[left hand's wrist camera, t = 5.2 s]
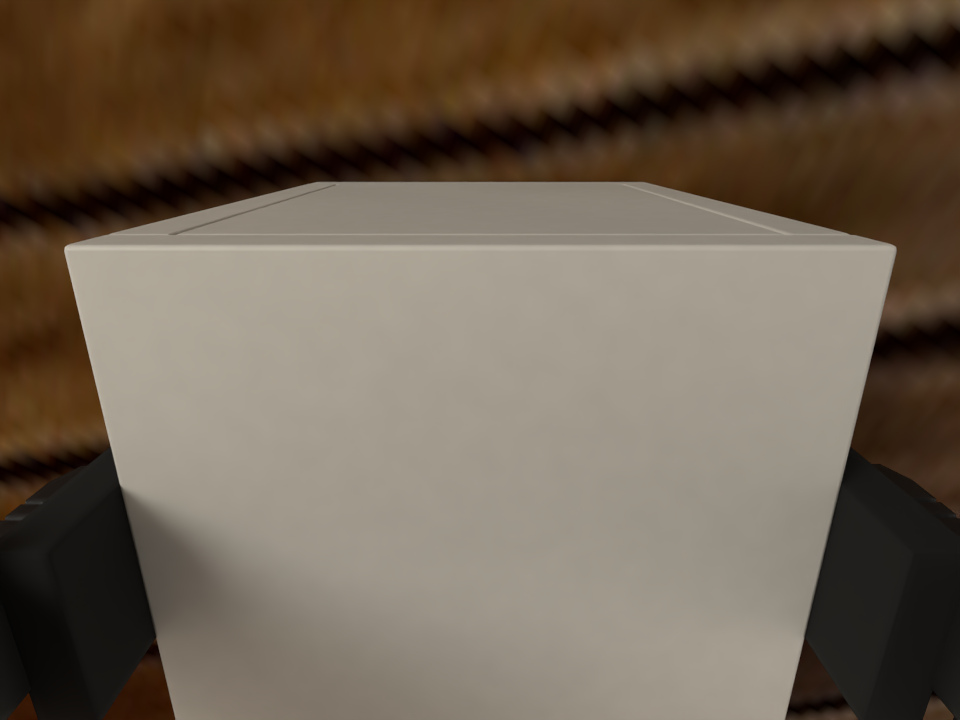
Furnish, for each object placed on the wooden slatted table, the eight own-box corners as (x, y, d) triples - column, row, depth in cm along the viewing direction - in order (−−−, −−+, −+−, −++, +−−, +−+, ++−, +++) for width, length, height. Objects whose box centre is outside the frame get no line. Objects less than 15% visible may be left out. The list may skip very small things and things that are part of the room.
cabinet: (597, 713, 26) (684, 1144, 15) (363, 713, 26) (275, 1144, 15) (645, 181, 18) (901, 245, 7) (314, 181, 18) (60, 245, 7)
